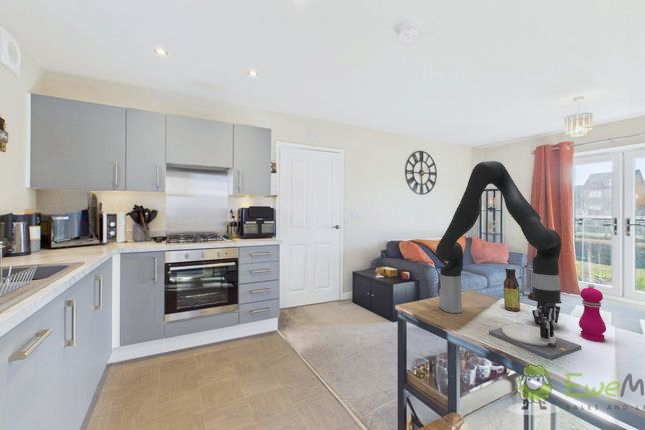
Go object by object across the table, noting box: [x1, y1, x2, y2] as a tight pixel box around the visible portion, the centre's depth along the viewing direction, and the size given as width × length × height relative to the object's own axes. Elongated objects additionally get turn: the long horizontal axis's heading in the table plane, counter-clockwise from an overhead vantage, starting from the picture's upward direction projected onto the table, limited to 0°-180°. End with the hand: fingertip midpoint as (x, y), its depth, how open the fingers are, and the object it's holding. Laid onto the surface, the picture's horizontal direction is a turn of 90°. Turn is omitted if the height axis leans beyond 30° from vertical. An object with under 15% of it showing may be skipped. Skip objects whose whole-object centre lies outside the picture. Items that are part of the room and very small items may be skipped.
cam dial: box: [501, 323, 557, 347], centre depth 101 cm, size 18×16×7 cm
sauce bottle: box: [503, 267, 521, 312], centre depth 133 cm, size 7×6×20 cm
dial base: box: [488, 327, 582, 361], centre depth 100 cm, size 21×17×1 cm
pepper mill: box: [578, 283, 607, 343], centre depth 102 cm, size 7×7×20 cm
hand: (547, 336), depth 95 cm, fingers closed on cam dial, 2 cm apart
